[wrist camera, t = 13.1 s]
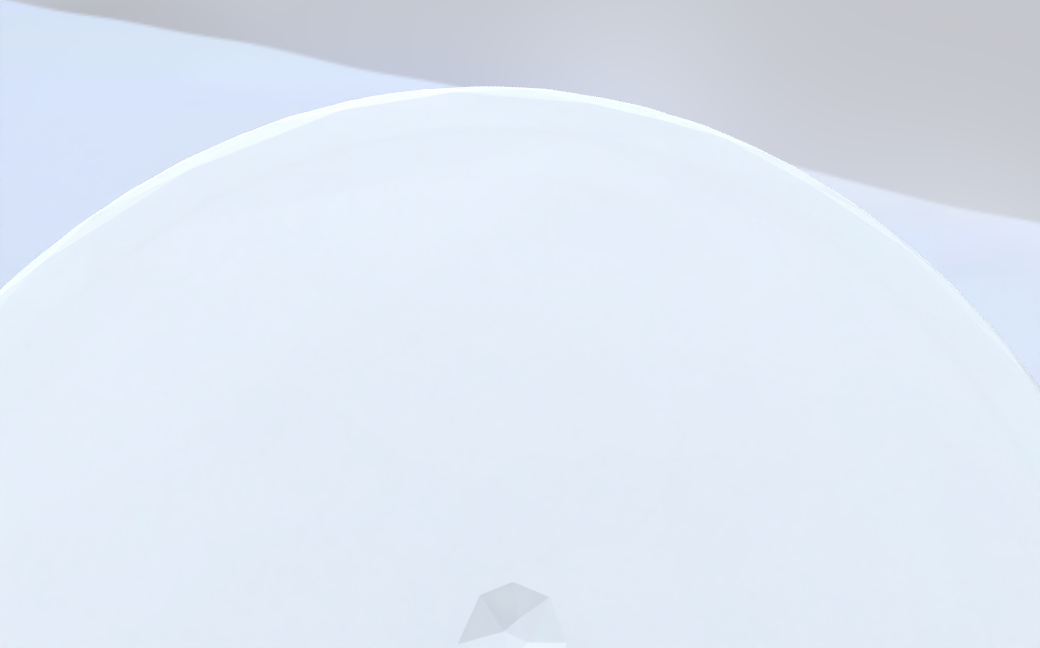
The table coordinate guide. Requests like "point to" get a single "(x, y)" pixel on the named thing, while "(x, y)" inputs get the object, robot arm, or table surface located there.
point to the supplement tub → (506, 400)
